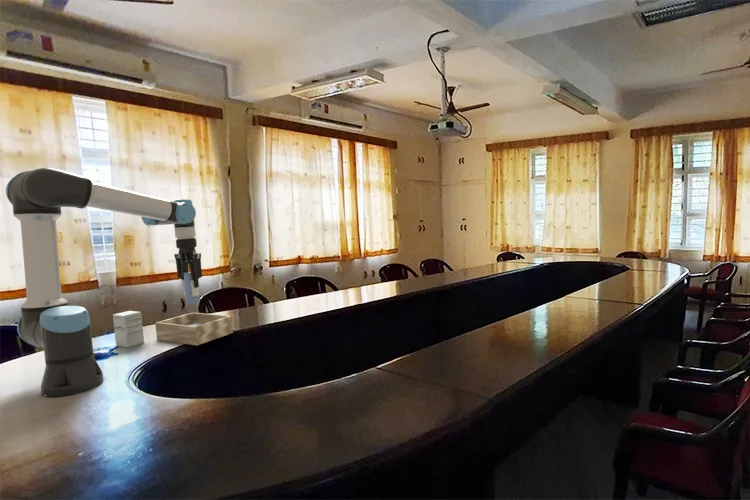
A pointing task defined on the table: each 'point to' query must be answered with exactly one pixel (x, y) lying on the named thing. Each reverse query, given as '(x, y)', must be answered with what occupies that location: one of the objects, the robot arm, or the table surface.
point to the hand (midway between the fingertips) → (191, 295)
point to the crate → (194, 328)
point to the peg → (189, 290)
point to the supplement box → (128, 328)
